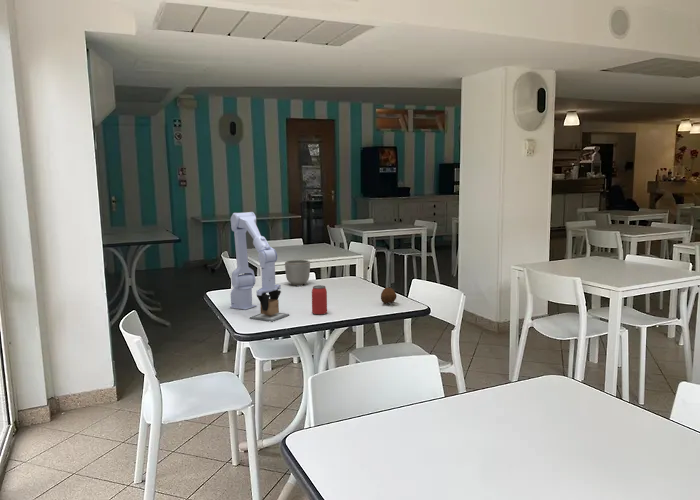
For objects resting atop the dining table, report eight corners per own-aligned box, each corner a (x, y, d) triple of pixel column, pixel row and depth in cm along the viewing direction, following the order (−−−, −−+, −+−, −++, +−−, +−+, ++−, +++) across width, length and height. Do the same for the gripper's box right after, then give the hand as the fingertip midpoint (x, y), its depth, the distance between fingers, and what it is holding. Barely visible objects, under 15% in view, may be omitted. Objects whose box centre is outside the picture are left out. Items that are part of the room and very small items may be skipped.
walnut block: (260, 313, 235) (260, 301, 234) (268, 310, 240) (268, 298, 239) (270, 315, 232) (270, 302, 231) (278, 312, 237) (278, 299, 236)
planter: (309, 287, 298) (308, 263, 296) (283, 287, 298) (283, 263, 297) (311, 282, 312) (311, 259, 310) (287, 282, 312) (286, 259, 310)
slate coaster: (249, 318, 234) (249, 317, 234) (266, 312, 244) (266, 310, 244) (272, 322, 228) (272, 320, 228) (289, 315, 239) (289, 313, 238)
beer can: (325, 315, 238) (324, 288, 236) (310, 314, 239) (309, 287, 238) (328, 311, 244) (328, 285, 243) (314, 311, 246) (313, 284, 244)
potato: (393, 301, 263) (393, 285, 262) (398, 306, 253) (398, 289, 252) (378, 302, 262) (378, 285, 261) (382, 306, 252) (382, 290, 251)
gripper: (265, 281, 226) (266, 313, 227) (286, 275, 238) (286, 306, 240) (252, 279, 229) (253, 311, 231) (272, 274, 242) (273, 304, 243)
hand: (269, 308), depth 236 cm, fingers closed on walnut block, 6 cm apart
